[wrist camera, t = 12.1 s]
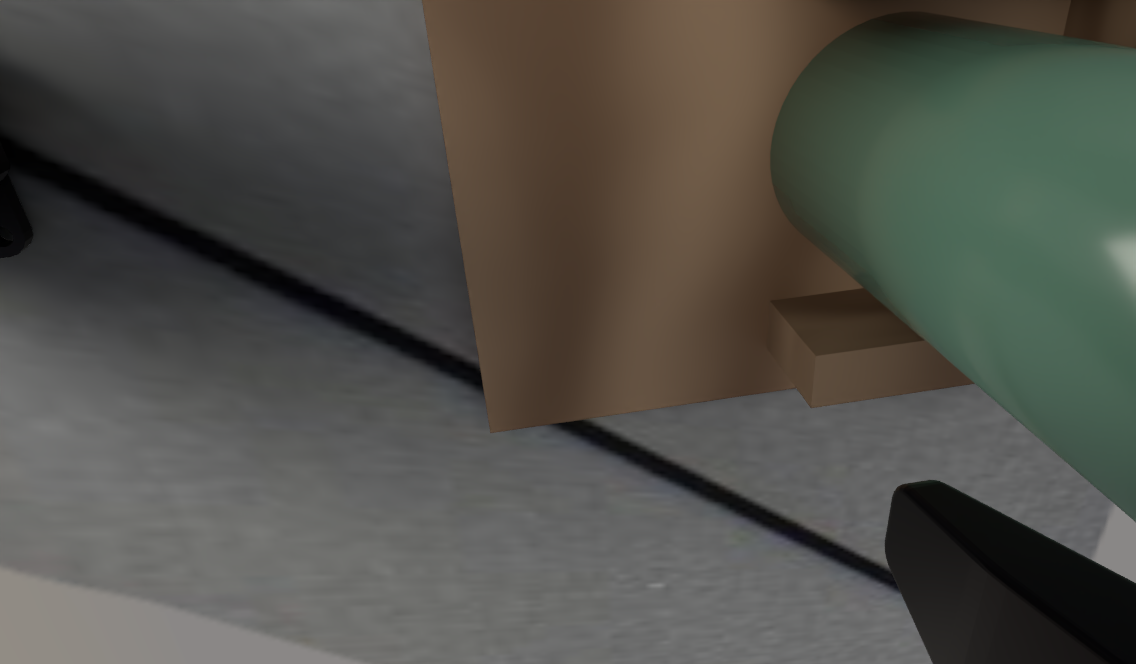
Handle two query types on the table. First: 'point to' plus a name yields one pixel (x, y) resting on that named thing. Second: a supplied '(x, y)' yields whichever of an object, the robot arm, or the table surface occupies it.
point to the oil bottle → (985, 211)
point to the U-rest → (664, 202)
